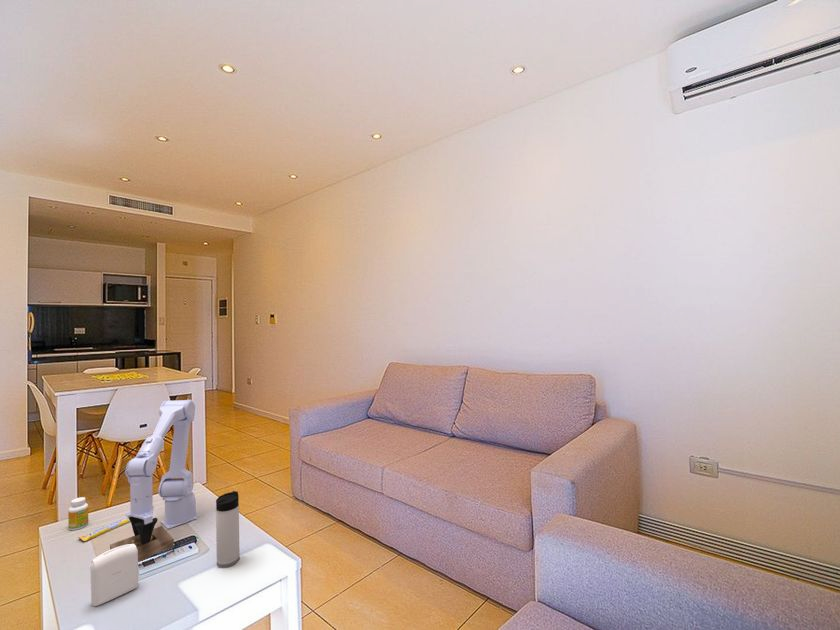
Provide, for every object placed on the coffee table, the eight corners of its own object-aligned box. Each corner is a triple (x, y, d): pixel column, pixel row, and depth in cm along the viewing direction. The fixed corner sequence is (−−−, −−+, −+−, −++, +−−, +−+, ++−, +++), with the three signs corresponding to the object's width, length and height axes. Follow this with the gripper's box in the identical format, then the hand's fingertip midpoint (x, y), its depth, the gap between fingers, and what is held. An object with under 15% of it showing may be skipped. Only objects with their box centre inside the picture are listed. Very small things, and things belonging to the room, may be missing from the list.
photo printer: (92, 609, 100) (92, 561, 100) (89, 601, 103) (88, 554, 103) (140, 587, 108) (140, 543, 108) (136, 581, 111) (135, 537, 111)
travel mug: (245, 556, 121) (244, 492, 121) (228, 569, 115) (227, 501, 115) (229, 553, 123) (228, 489, 123) (211, 565, 117) (210, 499, 117)
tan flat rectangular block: (150, 549, 126) (150, 533, 126) (152, 552, 124) (152, 536, 125) (131, 556, 122) (131, 540, 122) (133, 559, 121) (133, 543, 121)
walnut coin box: (161, 537, 133) (161, 525, 133) (174, 551, 125) (173, 538, 125) (110, 557, 122) (109, 544, 122) (119, 573, 114) (119, 559, 114)
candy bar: (131, 518, 147) (131, 513, 147) (138, 520, 145) (138, 515, 145) (76, 541, 132) (76, 536, 132) (83, 544, 130) (83, 539, 130)
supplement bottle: (76, 531, 138) (76, 503, 138) (64, 529, 139) (64, 502, 139) (92, 523, 143) (91, 496, 143) (80, 522, 144) (80, 495, 144)
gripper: (120, 493, 125) (120, 535, 125) (132, 507, 116) (133, 553, 116) (146, 486, 131) (146, 526, 131) (160, 498, 121) (160, 542, 121)
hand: (142, 538), depth 124 cm, fingers open, 7 cm apart
